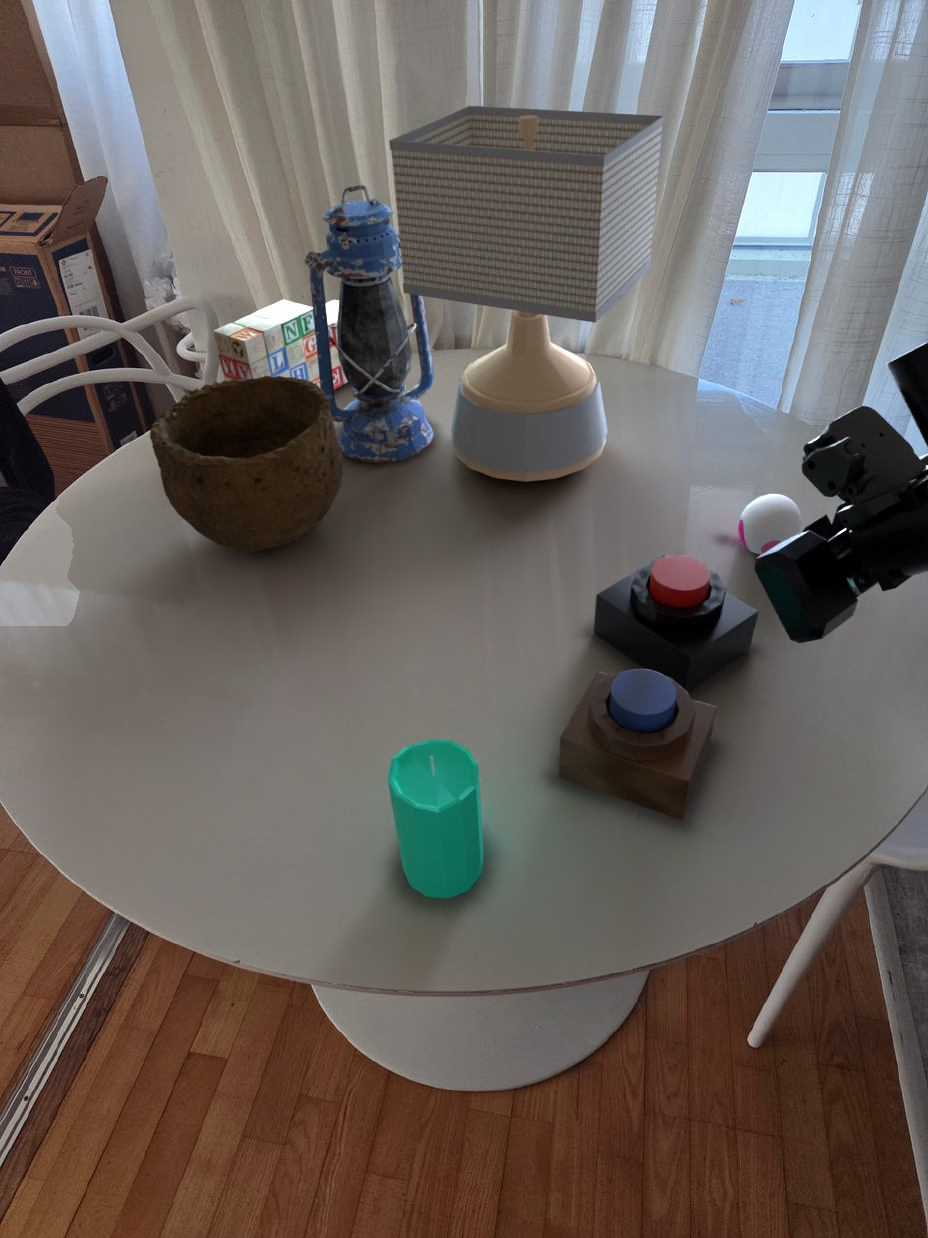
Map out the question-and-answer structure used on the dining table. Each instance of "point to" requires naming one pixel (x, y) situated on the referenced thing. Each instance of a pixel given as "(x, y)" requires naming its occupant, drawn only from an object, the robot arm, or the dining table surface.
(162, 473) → the bowl
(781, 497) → the stress ball
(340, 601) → the dining table surface
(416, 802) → the candle
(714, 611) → the switch box
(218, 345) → the stack of blocks
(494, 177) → the desk lamp
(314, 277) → the lantern
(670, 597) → the light button
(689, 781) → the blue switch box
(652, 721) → the blue button
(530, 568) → the dining table surface
